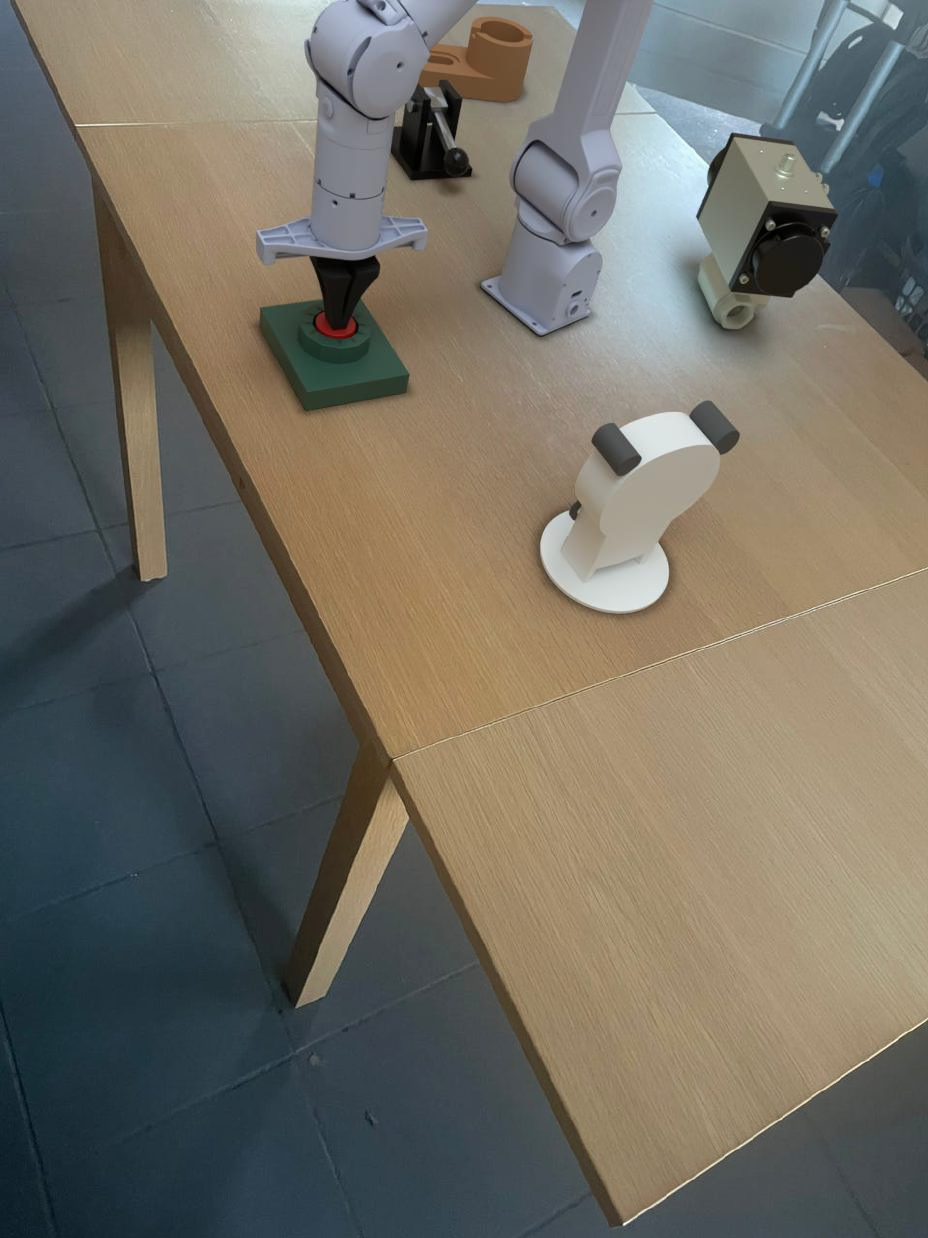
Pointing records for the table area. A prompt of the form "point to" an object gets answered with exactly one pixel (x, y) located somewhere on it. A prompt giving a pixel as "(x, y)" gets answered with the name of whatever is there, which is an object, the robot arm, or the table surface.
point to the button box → (332, 356)
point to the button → (326, 330)
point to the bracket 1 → (425, 135)
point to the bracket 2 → (483, 61)
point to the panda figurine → (633, 506)
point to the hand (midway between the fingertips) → (335, 322)
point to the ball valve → (760, 226)
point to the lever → (446, 134)
